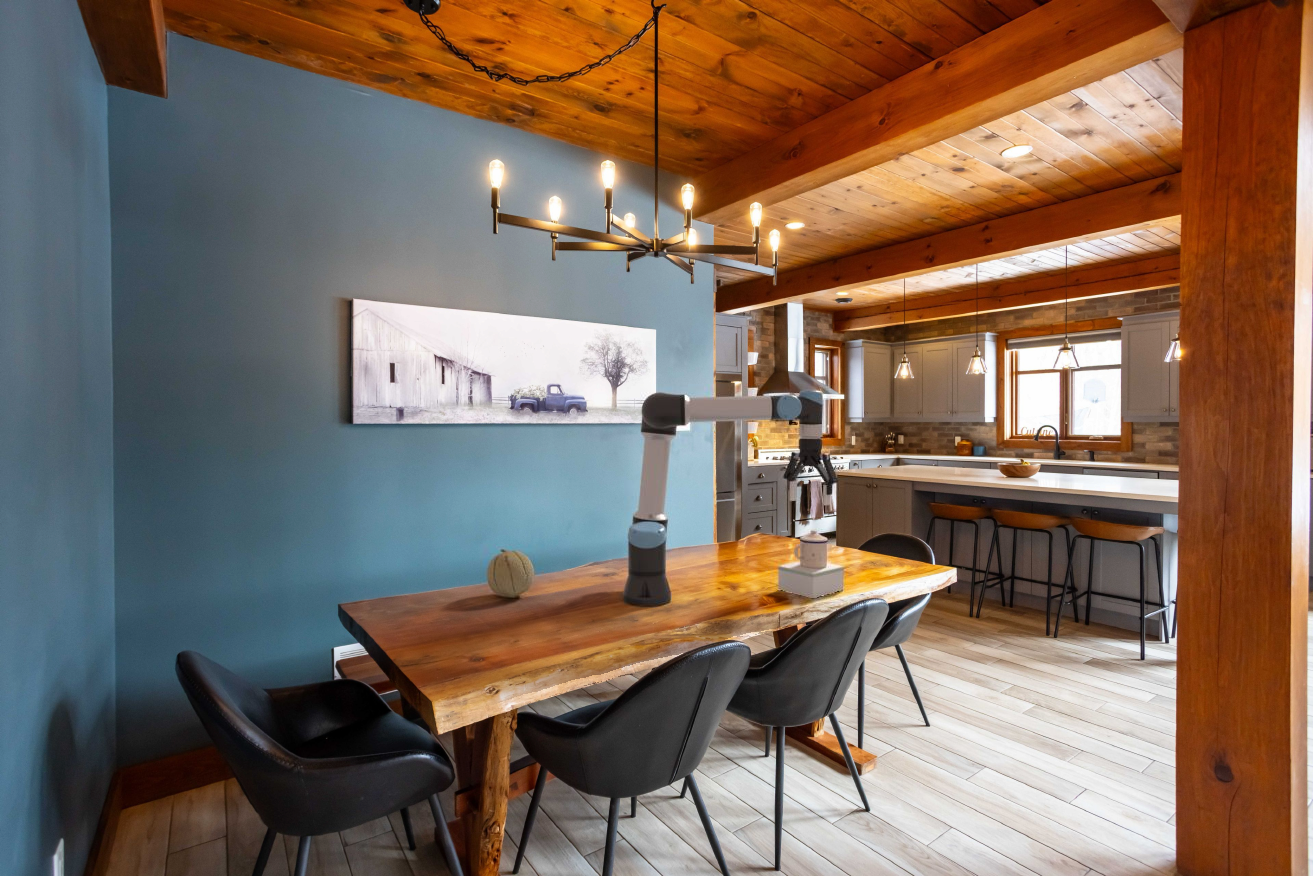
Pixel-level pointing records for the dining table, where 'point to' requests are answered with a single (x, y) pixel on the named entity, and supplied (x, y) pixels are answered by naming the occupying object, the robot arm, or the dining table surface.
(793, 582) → the stand
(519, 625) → the dining table surface
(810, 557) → the teacup with lid
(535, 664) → the dining table surface
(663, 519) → the robot arm
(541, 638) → the dining table surface
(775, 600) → the dining table surface
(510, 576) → the cantaloupe
